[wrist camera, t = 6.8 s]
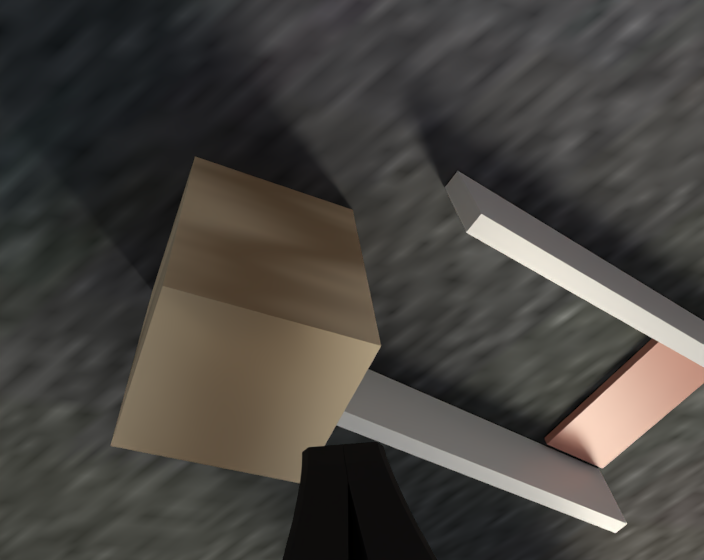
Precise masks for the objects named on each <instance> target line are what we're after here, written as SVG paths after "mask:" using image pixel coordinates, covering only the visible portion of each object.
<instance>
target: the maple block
mask: <svg viewBox="0 0 704 560" xmlns="http://www.w3.org/2000/svg"><path fill="white" fill-rule="evenodd" d="M380 347H381V343H380V338H379V333H378V328H377V324H376V319H375V314H374V309H373V304H372V300H371V295H370V290H369V285H368V281H367V276H366V271H365V266H364V262H363V257H362V252H361V247H360V242H359V238H358V233H357V228H356V223H355V219H354V214H353V210H352V209H349V208H346V207H343V206H340V205H337V204H334V203H331V202H328V201H325V200H322V199H319V198H316V197H313V196H310V195H307V194H304V193H301V192H298V191H295V190H293V189H290V188H287V187H284V186H281V185H278V184H275V183H272V182H269V181H266V180H263V179H260V178H257V177H254V176H251V175H248V174H245V173H242V172H239V171H236V170H234V169H231V168H228V167H225V166H222V165H219V164H216V163H213V162H210V161H207V160H204V159H201V158H198V157H195V158H194V161H193V165H192V168H191V171H190V174H189V177H188V180H187V183H186V187H185V190H184V193H183V196H182V199H181V202H180V205H179V209H178V212H177V215H176V218H175V221H174V224H173V227H172V230H171V234H170V237H169V240H168V243H167V246H166V249H165V252H164V256H163V259H162V262H161V265H160V268H159V271H158V274H157V278H156V281H155V284H154V287H153V290H152V294H151V298H150V301H149V305H148V309H147V312H146V316H145V320H144V324H143V327H142V331H141V335H140V338H139V342H138V346H137V349H136V353H135V357H134V361H133V364H132V368H131V372H130V375H129V379H128V383H127V386H126V390H125V394H124V398H123V401H122V405H121V409H120V412H119V416H118V420H117V423H116V427H115V431H114V435H113V438H112V442H111V446H114V447H119V448H124V449H129V450H134V451H139V452H144V453H149V454H155V455H160V456H165V457H170V458H175V459H180V460H185V461H190V462H195V463H200V464H205V465H210V466H215V467H220V468H225V469H230V470H235V471H241V472H246V473H251V474H256V475H261V476H266V477H271V478H276V479H281V480H286V481H291V482H296V483H300V478H301V469H302V452H303V451H304V450H305V449H307V448H308V447H317V446H325V444H326V442H327V441H328V439H329V437H330V435H331V434H332V432H333V430H334V428H335V427H336V425H337V423H338V421H339V419H340V418H341V416H342V414H343V412H344V411H345V409H346V407H347V405H348V404H349V402H350V400H351V398H352V397H353V395H354V393H355V391H356V389H357V388H358V386H359V384H360V382H361V381H362V379H363V377H364V375H365V374H366V372H367V370H368V368H369V367H370V365H371V363H372V361H373V359H374V358H375V356H376V354H377V352H378V351H379V349H380Z"/></svg>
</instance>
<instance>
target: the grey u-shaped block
mask: <svg viewBox="0 0 704 560" xmlns="http://www.w3.org/2000/svg"><path fill="white" fill-rule="evenodd" d="M445 190H446V192H447V194H448V196H449V198H450V200H451V202H452V204H453V206H454V208H455V210H456V213H457V215H458V217H459V219H460V221H461V223H462V225H463V227H464V229H465V231H466V233H468V234H470V235H472V236H473V237H475V238H477V239H479V240H480V241H482V242H484V243H486V244H487V245H489V246H491V247H493V248H494V249H496V250H498V251H500V252H501V253H503V254H505V255H507V256H509V257H510V258H512V259H514V260H516V261H517V262H519V263H521V264H523V265H524V266H526V267H528V268H530V269H531V270H533V271H535V272H537V273H538V274H540V275H542V276H544V277H546V278H547V279H549V280H551V281H553V282H554V283H556V284H558V285H560V286H561V287H563V288H565V289H567V290H568V291H570V292H572V293H574V294H575V295H577V296H579V297H581V298H582V299H584V300H586V301H588V302H590V303H591V304H593V305H595V306H597V307H598V308H600V309H602V310H604V311H605V312H607V313H609V314H611V315H612V316H614V317H616V318H618V319H619V320H621V321H623V322H625V323H626V324H628V325H630V326H632V327H634V328H635V329H637V330H639V331H641V332H642V333H644V334H646V335H648V336H649V337H651V338H652V339H651V340H650V341H649V342H648V343H647V344H646V345H645V346H643V347H642V348H641V349H640V350H639V351H638V352H637V353H636V354H635V355H634V356H633V357H632V358H630V359H629V360H628V361H627V362H626V363H625V364H624V365H623V366H622V367H621V368H620V369H619V370H617V371H616V372H615V373H614V374H613V375H612V376H611V377H610V378H609V379H608V380H607V381H606V382H604V383H603V384H602V385H601V386H600V387H599V388H598V389H597V390H596V391H595V392H594V393H593V394H591V395H590V396H589V397H588V398H587V399H586V400H585V401H584V402H583V403H582V404H581V405H580V406H578V407H577V408H576V409H575V410H574V411H573V412H572V413H571V414H570V415H569V416H568V417H567V418H565V419H564V420H563V421H562V422H561V423H560V424H559V425H558V426H557V427H556V428H555V429H554V430H552V431H551V432H550V433H549V434H548V435H547V436H546V437H545V438H544V439H545V441H546V443H547V444H548V445H550V446H552V447H554V448H557V449H559V450H561V451H564V452H566V453H568V454H571V455H573V456H575V457H577V458H580V459H582V460H584V461H587V462H589V463H591V464H593V465H596V466H598V467H600V468H604V467H605V466H606V465H607V464H608V463H610V462H611V461H612V460H613V459H614V458H615V457H617V456H618V455H619V454H620V453H621V452H623V451H624V450H625V449H626V448H627V447H628V446H630V445H631V444H632V443H633V442H634V441H636V440H637V439H638V438H639V437H640V436H641V435H643V434H644V433H645V432H646V431H647V430H649V429H650V428H651V427H652V426H653V425H654V424H656V423H657V422H658V421H659V420H660V419H662V418H663V417H664V416H665V415H666V414H668V413H669V412H670V411H671V410H672V409H673V408H675V407H676V406H677V405H678V404H679V403H681V402H682V401H683V400H684V399H685V398H686V397H688V396H689V395H690V394H691V393H692V392H694V391H695V390H696V389H697V388H698V387H699V386H701V385H702V384H703V383H704V321H703V320H702V319H700V318H698V317H697V316H695V315H693V314H692V313H690V312H689V311H687V310H685V309H684V308H682V307H680V306H679V305H677V304H675V303H674V302H672V301H671V300H669V299H667V298H666V297H664V296H662V295H661V294H659V293H657V292H656V291H654V290H652V289H651V288H649V287H648V286H646V285H644V284H643V283H641V282H639V281H638V280H636V279H634V278H633V277H631V276H630V275H628V274H626V273H625V272H623V271H621V270H620V269H618V268H616V267H615V266H613V265H612V264H610V263H608V262H607V261H605V260H603V259H602V258H600V257H598V256H597V255H595V254H594V253H592V252H590V251H589V250H587V249H585V248H584V247H582V246H580V245H579V244H577V243H575V242H574V241H572V240H571V239H569V238H567V237H566V236H564V235H562V234H561V233H559V232H557V231H556V230H554V229H553V228H551V227H549V226H548V225H546V224H544V223H543V222H541V221H539V220H538V219H536V218H535V217H533V216H531V215H530V214H528V213H526V212H525V211H523V210H521V209H520V208H518V207H517V206H515V205H513V204H512V203H510V202H508V201H507V200H505V199H503V198H502V197H500V196H498V195H497V194H495V193H494V192H492V191H490V190H489V189H487V188H485V187H484V186H482V185H480V184H479V183H477V182H476V181H474V180H472V179H471V178H469V177H467V176H466V175H464V174H462V173H461V172H459V171H457V172H456V174H455V175H454V176H453V177H452V179H451V180H450V181H449V183H448V184H447V185H446V186H445ZM337 426H339V427H342V428H345V429H347V430H350V431H352V432H355V433H358V434H360V435H363V436H365V437H368V438H371V439H373V440H376V441H378V442H381V443H384V444H386V445H389V446H391V447H394V448H396V449H399V450H402V451H404V452H407V453H409V454H412V455H415V456H417V457H420V458H422V459H425V460H428V461H430V462H433V463H435V464H438V465H441V466H443V467H446V468H448V469H451V470H453V471H456V472H459V473H461V474H464V475H466V476H469V477H472V478H474V479H477V480H479V481H482V482H485V483H487V484H490V485H492V486H495V487H498V488H500V489H503V490H505V491H508V492H510V493H513V494H516V495H518V496H521V497H523V498H526V499H529V500H531V501H534V502H536V503H539V504H542V505H544V506H547V507H549V508H552V509H554V510H557V511H560V512H562V513H565V514H567V515H570V516H573V517H575V518H578V519H580V520H583V521H586V522H588V523H591V524H593V525H596V526H599V527H601V528H604V529H606V530H609V531H611V532H614V533H616V532H617V531H619V530H620V529H621V528H623V527H624V526H625V525H626V524H627V522H626V520H625V519H624V517H623V515H622V513H621V511H620V509H619V507H618V505H617V503H616V501H615V499H614V497H613V495H612V493H611V491H610V489H609V487H608V485H607V483H606V481H605V480H604V478H603V476H602V474H601V472H600V470H599V469H598V468H595V467H593V466H591V465H588V464H586V463H584V462H581V461H579V460H577V459H575V458H572V457H570V456H568V455H565V454H563V453H561V452H558V451H556V450H554V449H551V448H549V447H547V446H545V445H542V444H540V443H538V442H535V441H533V440H531V439H528V438H526V437H524V436H522V435H519V434H517V433H515V432H512V431H510V430H508V429H505V428H503V427H501V426H498V425H496V424H494V423H492V422H489V421H487V420H485V419H482V418H480V417H478V416H475V415H473V414H471V413H468V412H466V411H464V410H462V409H459V408H457V407H455V406H452V405H450V404H448V403H445V402H443V401H441V400H439V399H436V398H434V397H432V396H429V395H427V394H425V393H422V392H420V391H418V390H415V389H413V388H411V387H409V386H406V385H404V384H402V383H399V382H397V381H395V380H392V379H390V378H388V377H386V376H383V375H381V374H379V373H376V372H374V371H372V370H369V369H368V370H367V372H366V374H365V375H364V377H363V379H362V381H361V382H360V384H359V386H358V388H357V389H356V391H355V393H354V395H353V397H352V398H351V400H350V402H349V404H348V405H347V407H346V409H345V411H344V412H343V414H342V416H341V418H340V419H339V421H338V423H337Z"/></svg>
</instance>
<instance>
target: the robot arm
mask: <svg viewBox="0 0 704 560" xmlns="http://www.w3.org/2000/svg"><path fill="white" fill-rule="evenodd" d="M283 560H437V559H436V557H435V555H434V554H433V552H432V550H431V548H430V546H429V545H428V543H427V541H426V539H425V537H424V536H423V534H422V532H421V530H420V528H419V527H418V525H417V523H416V521H415V519H414V517H413V515H412V513H411V511H410V509H409V507H408V505H407V503H406V501H405V499H404V497H403V495H402V493H401V491H400V488H399V486H398V484H397V482H396V479H395V477H394V475H393V472H392V470H391V467H390V465H389V462H388V459H387V457H386V454H385V451H384V447H383V446H382V445H381V444H379V443H378V442H369V443H356V444H343V445H330V446H317V447H308V448H307V449H305V450H304V451H303V452H302V469H301V478H300V486H299V492H298V498H297V503H296V507H295V512H294V517H293V522H292V525H291V529H290V533H289V537H288V541H287V545H286V548H285V552H284V556H283Z"/></svg>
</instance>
